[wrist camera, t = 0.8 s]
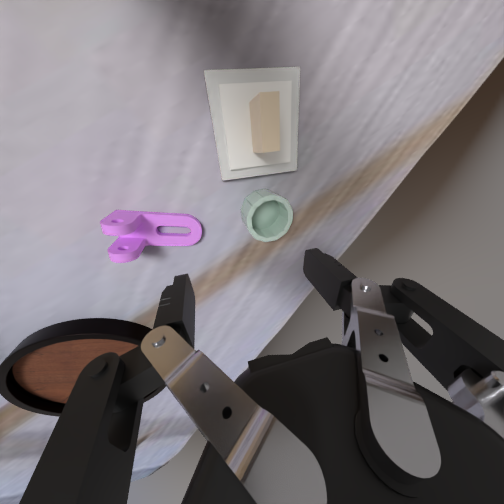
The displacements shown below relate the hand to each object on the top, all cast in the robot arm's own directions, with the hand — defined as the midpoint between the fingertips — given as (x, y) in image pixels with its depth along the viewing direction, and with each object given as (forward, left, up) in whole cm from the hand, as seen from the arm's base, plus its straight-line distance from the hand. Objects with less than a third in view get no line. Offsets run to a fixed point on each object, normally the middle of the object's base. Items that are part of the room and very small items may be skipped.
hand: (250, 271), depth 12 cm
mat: (-9, +7, -23) cm, 25 cm away
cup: (+4, +7, -23) cm, 24 cm away
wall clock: (+35, -35, -23) cm, 54 cm away
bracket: (+4, -11, -23) cm, 25 cm away
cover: (-9, +7, -22) cm, 25 cm away
